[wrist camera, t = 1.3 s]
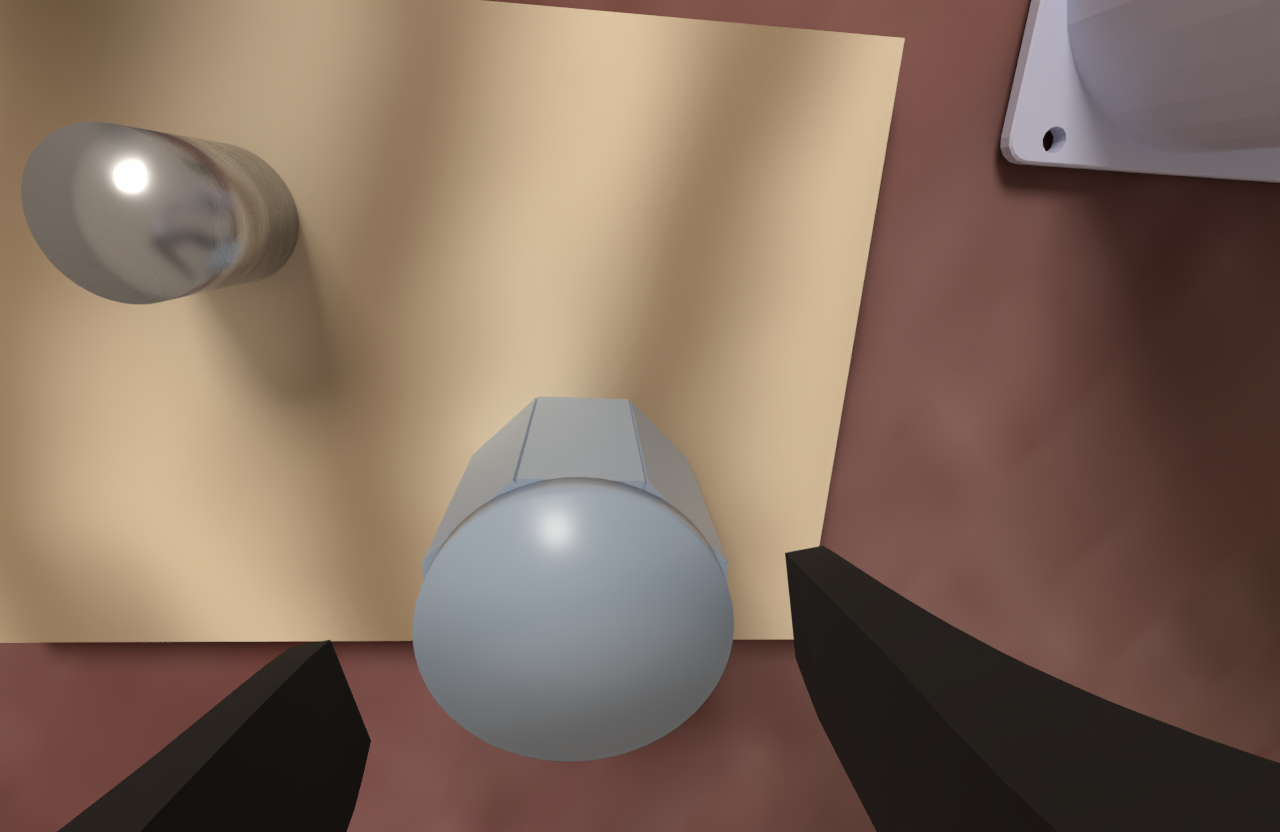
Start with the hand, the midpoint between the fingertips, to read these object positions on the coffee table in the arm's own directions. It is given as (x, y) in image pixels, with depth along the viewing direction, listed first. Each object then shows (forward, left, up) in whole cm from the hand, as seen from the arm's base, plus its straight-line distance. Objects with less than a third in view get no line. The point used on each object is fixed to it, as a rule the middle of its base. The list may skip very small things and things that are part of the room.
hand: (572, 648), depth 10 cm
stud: (+7, -6, -5) cm, 11 cm away
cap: (0, 0, -5) cm, 5 cm away
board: (+4, -3, -6) cm, 8 cm away
